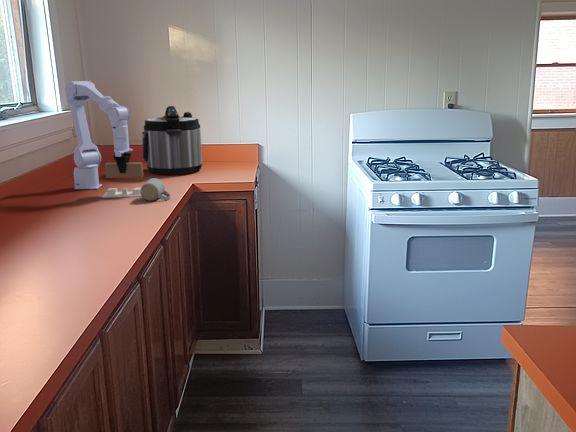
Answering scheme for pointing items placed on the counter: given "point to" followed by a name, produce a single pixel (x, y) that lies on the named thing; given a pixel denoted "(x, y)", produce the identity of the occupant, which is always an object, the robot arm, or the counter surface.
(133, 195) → the display stand
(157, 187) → the ceramic mug
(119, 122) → the robot arm
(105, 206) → the counter surface
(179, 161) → the pressure cooker
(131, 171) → the frame bar
